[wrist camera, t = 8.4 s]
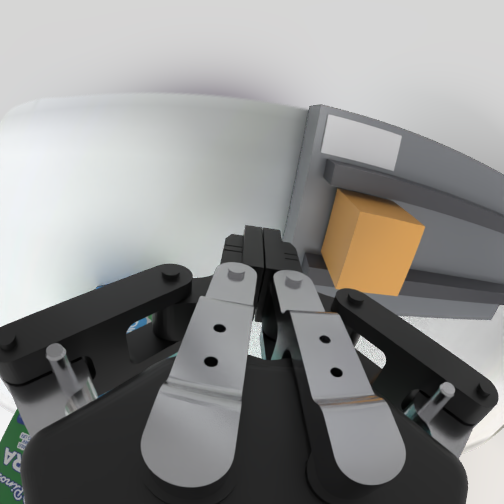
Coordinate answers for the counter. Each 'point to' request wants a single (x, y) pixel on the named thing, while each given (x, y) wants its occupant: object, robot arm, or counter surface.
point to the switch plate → (411, 200)
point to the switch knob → (369, 243)
